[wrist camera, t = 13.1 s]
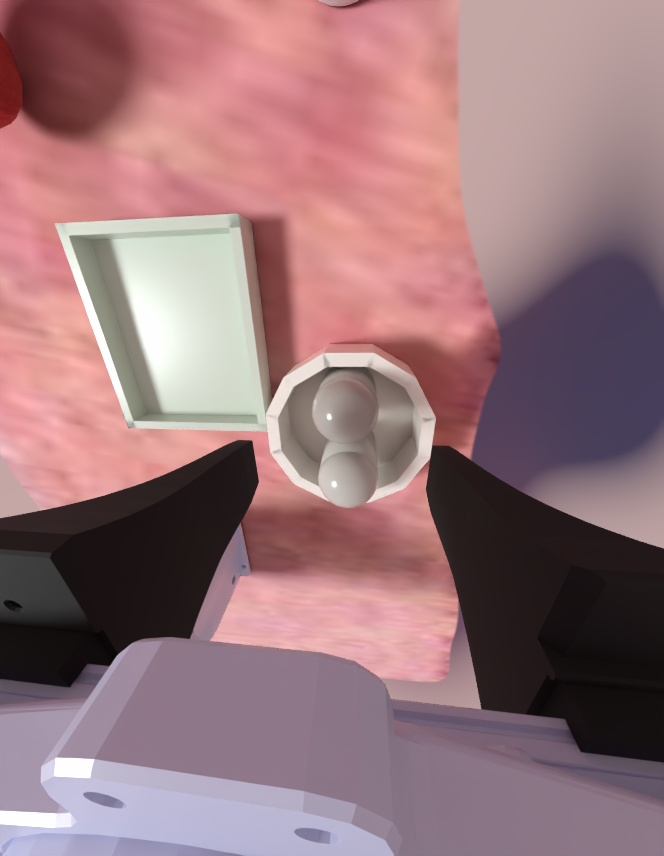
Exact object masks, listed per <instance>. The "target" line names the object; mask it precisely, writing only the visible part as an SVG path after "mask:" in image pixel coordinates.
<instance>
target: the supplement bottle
mask: <svg viewBox="0 0 664 856" xmlns="http://www.w3.org/2000/svg"><path fill="white" fill-rule="evenodd" d="M318 1H320V2H322V3H324V4H327V5H330V6H346V5H349V4H352V3H354V2H356V1H358V0H318Z"/></svg>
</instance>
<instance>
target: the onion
mask: <svg viewBox="0 0 664 856" xmlns="http://www.w3.org/2000/svg"><path fill="white" fill-rule="evenodd" d="M21 106H22V82H21V79H20V76H19V73H18V69H17V66H16V63H15V60H14V57H13V54H12V52H11V49H10V48H9V46H8V44H7V43H6V41H5V39H4V38H3V36H2V34H1V33H0V128H2V127H5V126H7V125H9V124H11V123H12V122H13V121H14V120H15V118H16V117H17V115H18V113H19V111H20V108H21Z"/></svg>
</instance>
